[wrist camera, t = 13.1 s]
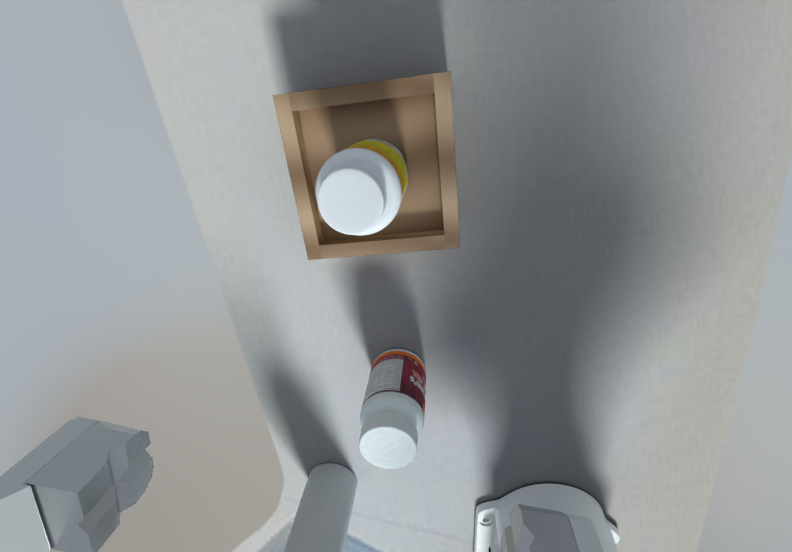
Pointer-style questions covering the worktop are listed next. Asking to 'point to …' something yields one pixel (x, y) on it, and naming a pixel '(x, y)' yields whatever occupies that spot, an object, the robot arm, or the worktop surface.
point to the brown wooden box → (386, 120)
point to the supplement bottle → (362, 187)
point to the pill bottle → (393, 409)
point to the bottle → (324, 510)
